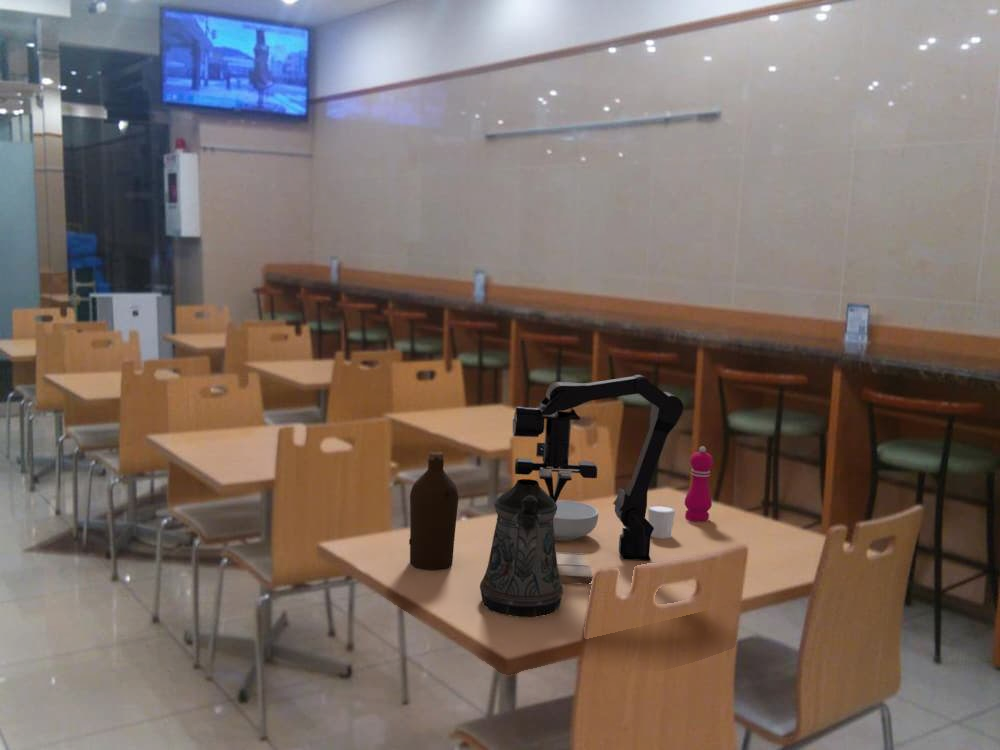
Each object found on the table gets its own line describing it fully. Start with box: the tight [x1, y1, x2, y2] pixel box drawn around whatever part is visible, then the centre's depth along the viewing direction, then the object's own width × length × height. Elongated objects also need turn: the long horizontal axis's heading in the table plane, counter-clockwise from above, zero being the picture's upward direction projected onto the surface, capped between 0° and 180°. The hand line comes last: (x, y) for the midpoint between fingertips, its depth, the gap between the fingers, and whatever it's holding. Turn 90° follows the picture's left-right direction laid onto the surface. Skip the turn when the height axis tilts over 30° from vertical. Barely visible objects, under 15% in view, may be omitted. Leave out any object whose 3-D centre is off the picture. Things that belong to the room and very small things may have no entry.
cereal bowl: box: [553, 499, 599, 541], centre depth 249 cm, size 17×17×7 cm
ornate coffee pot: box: [479, 478, 564, 618], centre depth 198 cm, size 16×19×25 cm
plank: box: [556, 551, 588, 566], centre depth 225 cm, size 17×7×2 cm, turn 90°
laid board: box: [557, 565, 594, 585], centre depth 218 cm, size 18×7×2 cm, turn 90°
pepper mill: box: [684, 445, 714, 522], centre depth 271 cm, size 7×7×20 cm
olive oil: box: [408, 450, 460, 571], centre depth 221 cm, size 11×11×25 cm
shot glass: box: [647, 504, 676, 540], centre depth 254 cm, size 7×7×7 cm
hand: (553, 504), depth 232 cm, fingers closed
